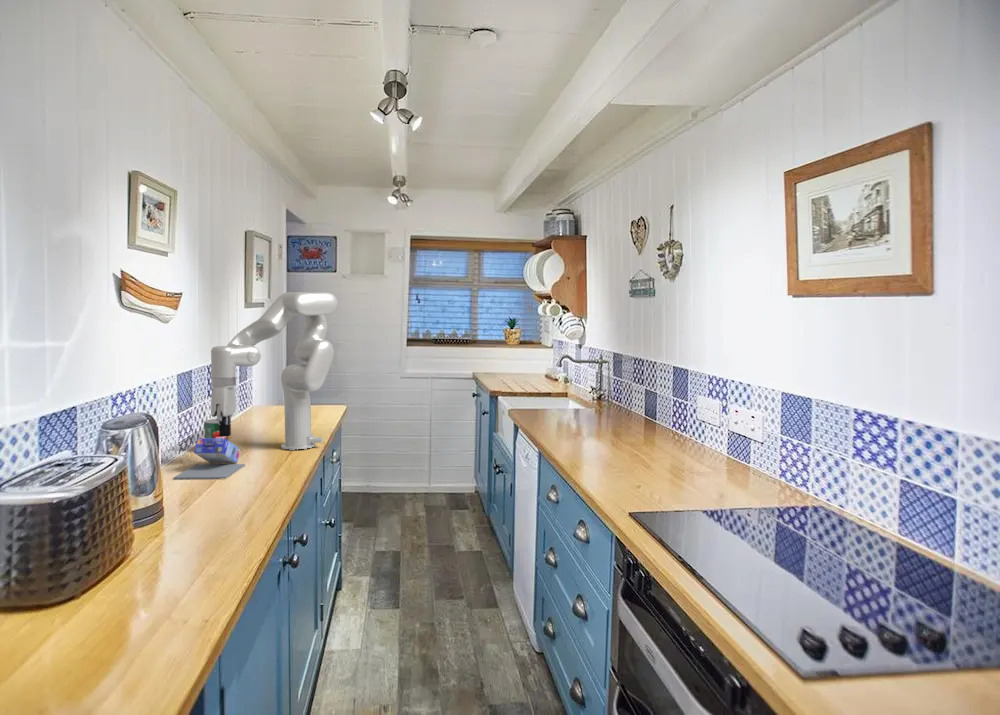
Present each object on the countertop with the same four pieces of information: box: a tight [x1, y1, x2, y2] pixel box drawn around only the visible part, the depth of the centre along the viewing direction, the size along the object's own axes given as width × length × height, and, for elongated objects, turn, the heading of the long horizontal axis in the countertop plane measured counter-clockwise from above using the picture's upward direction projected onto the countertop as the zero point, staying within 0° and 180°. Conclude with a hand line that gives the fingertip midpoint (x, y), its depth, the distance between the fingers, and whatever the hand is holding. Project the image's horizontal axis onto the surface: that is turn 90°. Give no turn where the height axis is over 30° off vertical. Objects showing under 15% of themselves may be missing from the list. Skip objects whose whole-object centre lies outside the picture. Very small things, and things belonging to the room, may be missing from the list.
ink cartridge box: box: [193, 437, 241, 464], centre depth 204 cm, size 10×6×14 cm
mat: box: [172, 463, 246, 480], centre depth 198 cm, size 16×16×1 cm
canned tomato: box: [203, 418, 229, 441], centre depth 229 cm, size 8×8×11 cm
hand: (225, 435), depth 210 cm, fingers closed
